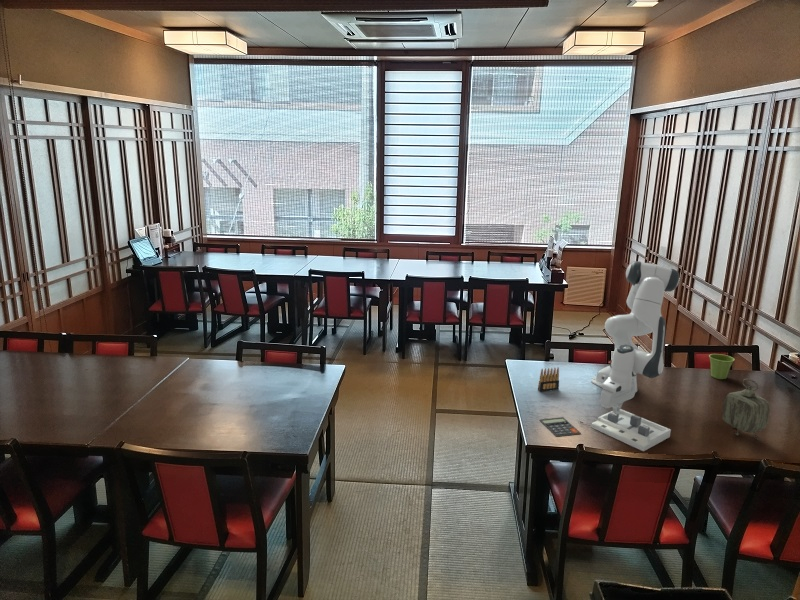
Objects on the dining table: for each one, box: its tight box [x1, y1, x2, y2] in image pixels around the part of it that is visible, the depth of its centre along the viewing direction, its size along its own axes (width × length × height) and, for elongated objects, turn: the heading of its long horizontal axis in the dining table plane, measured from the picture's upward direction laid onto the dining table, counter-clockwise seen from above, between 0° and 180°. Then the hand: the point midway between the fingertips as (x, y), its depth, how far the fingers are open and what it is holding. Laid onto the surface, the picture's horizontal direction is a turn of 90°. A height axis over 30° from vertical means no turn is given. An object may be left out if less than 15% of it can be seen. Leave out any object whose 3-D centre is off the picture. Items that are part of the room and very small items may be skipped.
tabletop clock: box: [721, 378, 771, 440], centre depth 222 cm, size 14×9×25 cm, turn 20°
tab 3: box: [638, 425, 650, 437], centre depth 218 cm, size 3×3×4 cm
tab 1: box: [608, 411, 619, 423], centre depth 229 cm, size 3×3×4 cm
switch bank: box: [590, 408, 672, 452], centre depth 225 cm, size 24×20×4 cm
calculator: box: [539, 416, 582, 438], centre depth 229 cm, size 12×1×15 cm
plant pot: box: [708, 353, 735, 380], centre depth 284 cm, size 12×12×11 cm
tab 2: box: [630, 414, 643, 427], centre depth 227 cm, size 3×3×4 cm
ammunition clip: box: [537, 366, 560, 393], centre depth 265 cm, size 11×2×12 cm, turn 104°
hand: (616, 411), depth 231 cm, fingers closed
